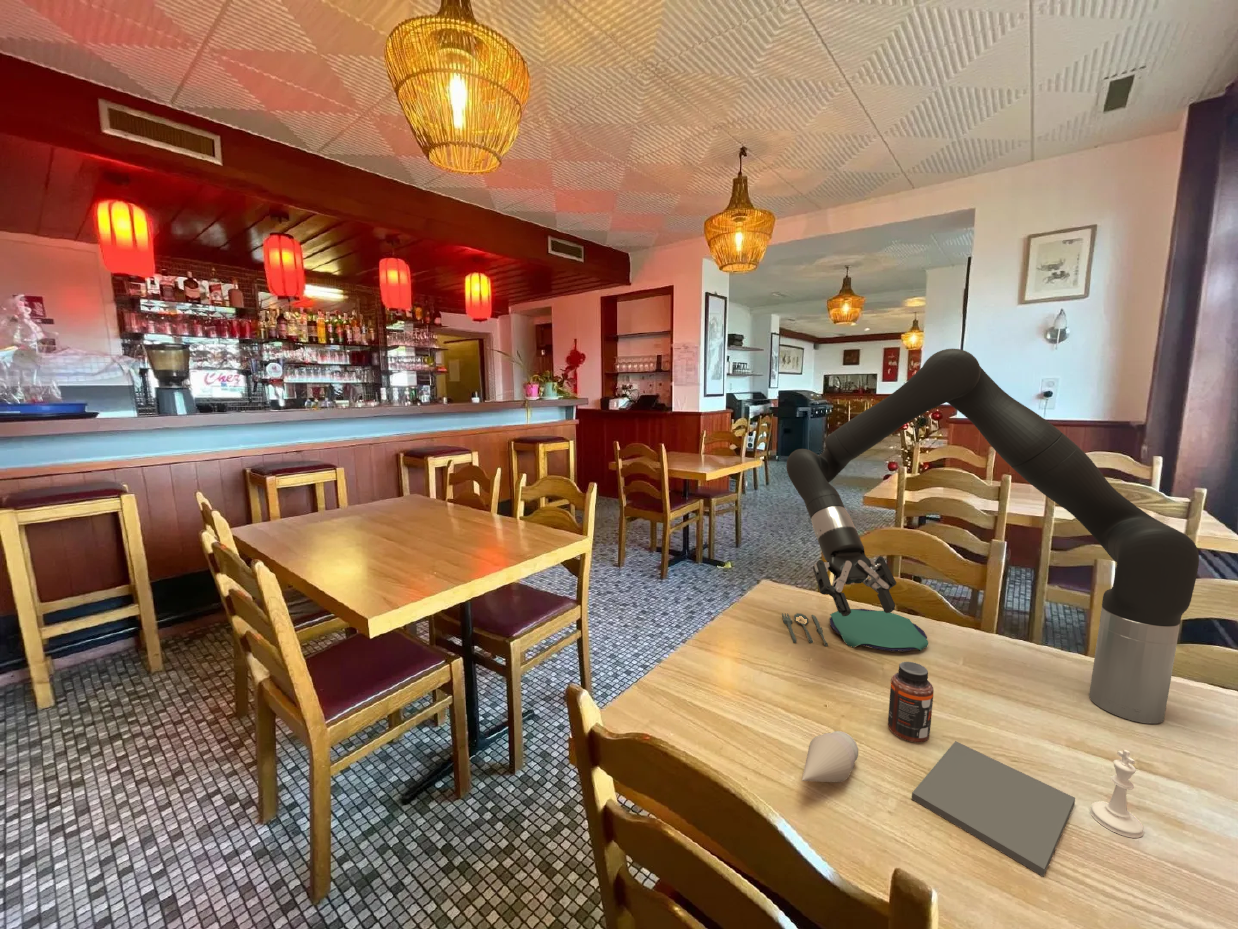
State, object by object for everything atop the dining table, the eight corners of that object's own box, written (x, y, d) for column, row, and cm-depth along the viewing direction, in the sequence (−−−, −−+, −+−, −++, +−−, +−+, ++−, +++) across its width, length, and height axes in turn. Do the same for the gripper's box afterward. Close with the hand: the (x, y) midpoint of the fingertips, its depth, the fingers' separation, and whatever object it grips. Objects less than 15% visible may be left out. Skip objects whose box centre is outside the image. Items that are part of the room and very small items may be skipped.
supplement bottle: (936, 747, 77) (942, 680, 76) (894, 742, 78) (899, 676, 77) (921, 722, 83) (926, 659, 81) (882, 718, 84) (887, 656, 83)
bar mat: (954, 746, 77) (955, 741, 77) (1074, 804, 66) (1075, 797, 66) (911, 799, 68) (912, 792, 67) (1043, 877, 57) (1044, 869, 56)
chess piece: (1114, 804, 66) (1125, 737, 65) (1155, 837, 61) (1167, 765, 60) (1079, 806, 66) (1088, 738, 65) (1117, 839, 61) (1128, 766, 60)
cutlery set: (943, 662, 102) (944, 651, 102) (791, 650, 107) (792, 640, 107) (905, 618, 121) (906, 610, 121) (778, 610, 127) (779, 602, 126)
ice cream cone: (794, 810, 66) (841, 769, 76) (833, 803, 62) (877, 761, 72) (772, 760, 68) (820, 727, 79) (808, 750, 65) (854, 717, 75)
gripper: (810, 526, 95) (842, 608, 86) (878, 523, 97) (916, 602, 88) (795, 544, 101) (823, 623, 92) (859, 541, 103) (893, 617, 94)
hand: (868, 613), depth 90 cm, fingers open, 8 cm apart
